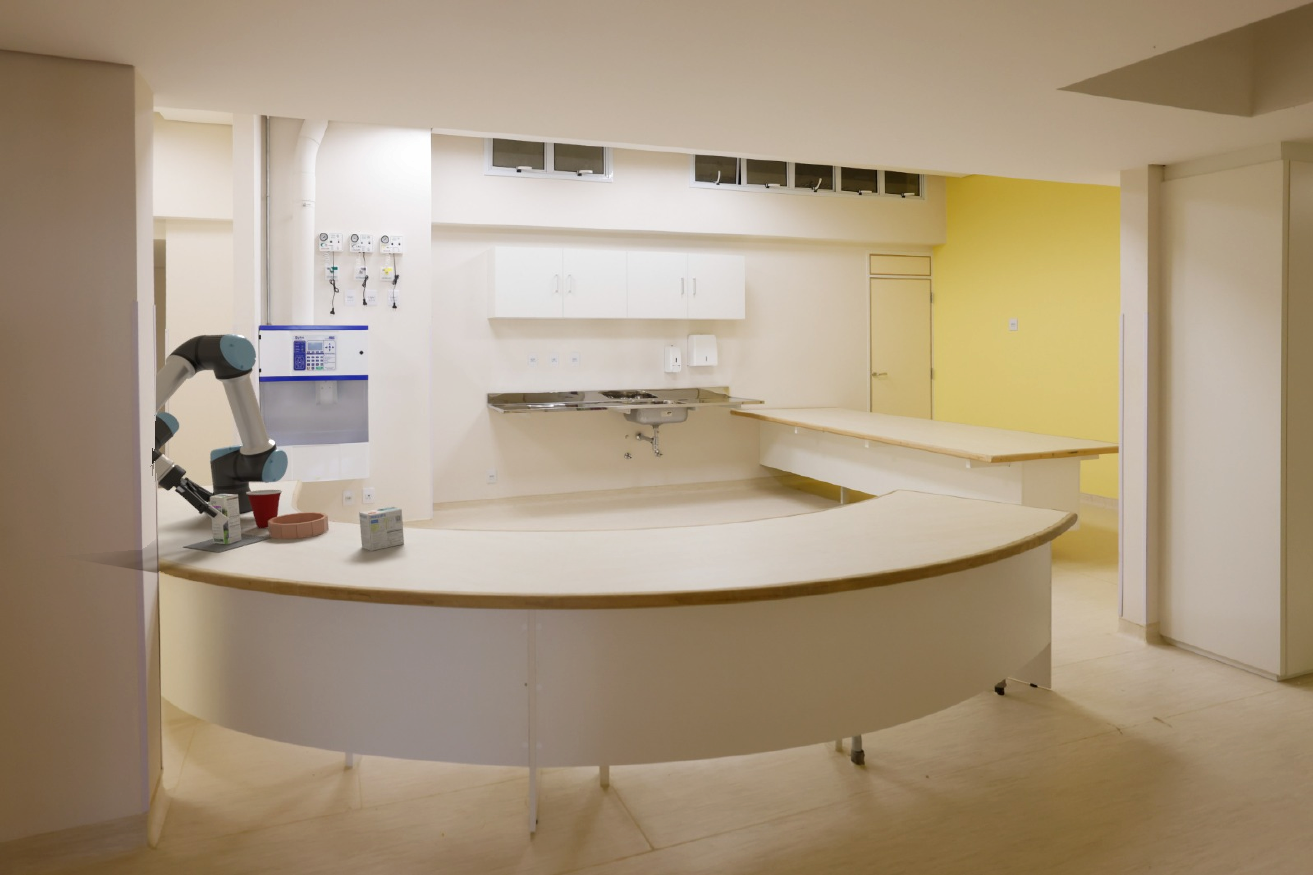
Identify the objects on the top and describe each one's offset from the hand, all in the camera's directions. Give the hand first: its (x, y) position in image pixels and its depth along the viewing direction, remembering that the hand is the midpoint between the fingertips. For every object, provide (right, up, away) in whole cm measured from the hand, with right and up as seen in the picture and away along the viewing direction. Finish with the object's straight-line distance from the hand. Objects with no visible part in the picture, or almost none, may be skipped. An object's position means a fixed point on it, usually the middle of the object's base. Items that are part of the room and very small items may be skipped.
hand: (227, 517), depth 261 cm
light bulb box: (+49, -8, -6) cm, 50 cm away
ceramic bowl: (+16, -6, +13) cm, 22 cm away
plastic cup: (+2, -5, +22) cm, 23 cm away
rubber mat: (-1, -8, +1) cm, 8 cm away
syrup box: (-1, -8, +1) cm, 8 cm away
